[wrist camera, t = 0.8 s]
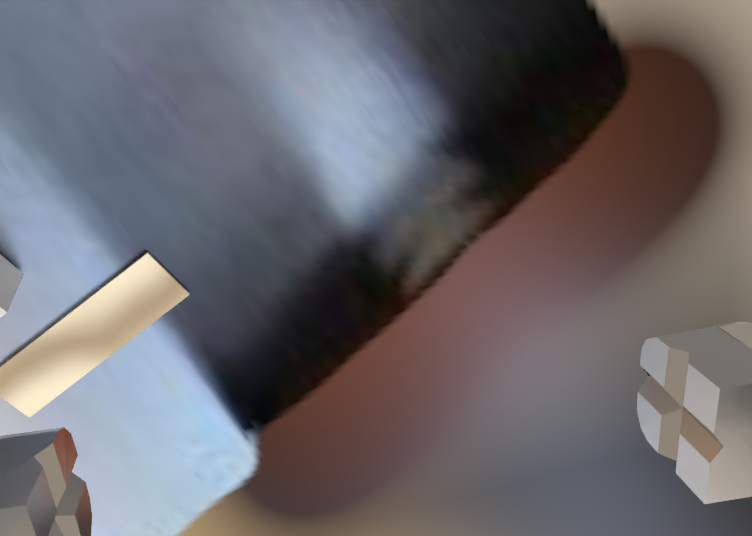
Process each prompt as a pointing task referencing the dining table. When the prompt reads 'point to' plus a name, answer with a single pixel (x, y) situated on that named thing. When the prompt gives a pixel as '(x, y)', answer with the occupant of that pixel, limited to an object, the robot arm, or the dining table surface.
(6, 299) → the white low frame
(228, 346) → the dining table surface
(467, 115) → the dining table surface
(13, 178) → the dining table surface
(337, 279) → the dining table surface
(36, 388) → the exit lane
